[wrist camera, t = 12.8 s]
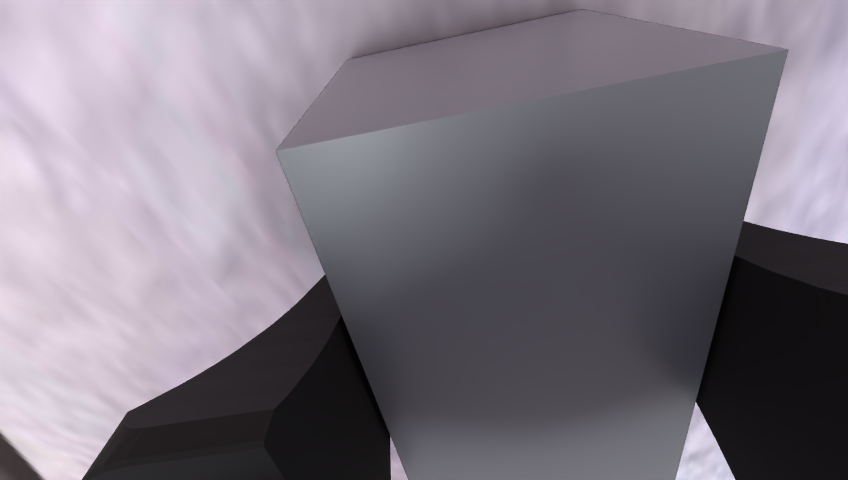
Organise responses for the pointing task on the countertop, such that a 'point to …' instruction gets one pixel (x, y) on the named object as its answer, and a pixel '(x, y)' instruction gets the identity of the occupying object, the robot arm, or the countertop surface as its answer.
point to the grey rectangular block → (535, 236)
